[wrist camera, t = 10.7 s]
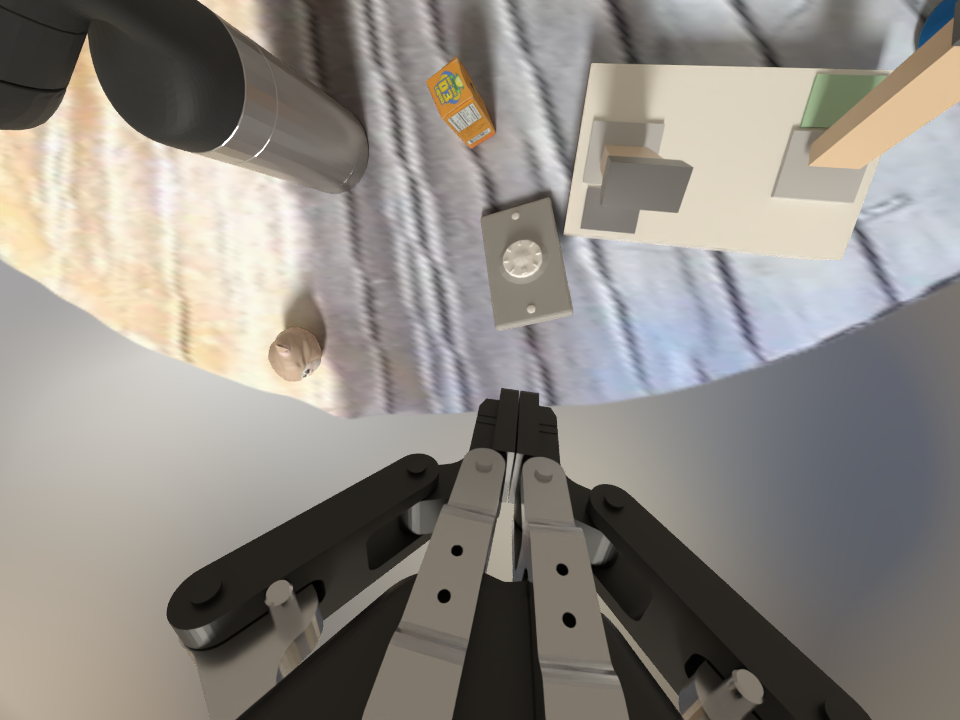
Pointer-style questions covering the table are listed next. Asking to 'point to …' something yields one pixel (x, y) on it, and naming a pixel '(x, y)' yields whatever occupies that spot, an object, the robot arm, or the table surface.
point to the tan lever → (896, 104)
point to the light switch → (525, 265)
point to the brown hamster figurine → (295, 354)
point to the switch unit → (725, 156)
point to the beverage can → (937, 20)
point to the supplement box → (461, 103)
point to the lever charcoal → (642, 179)
